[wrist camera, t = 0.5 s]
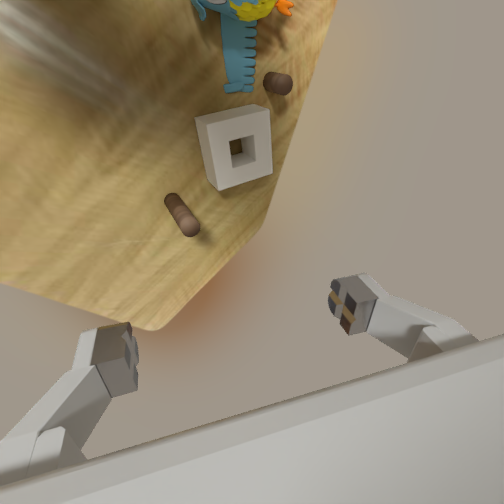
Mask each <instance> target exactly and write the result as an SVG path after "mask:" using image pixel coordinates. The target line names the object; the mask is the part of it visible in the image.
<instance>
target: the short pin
mask: <svg viewBox="0 0 504 504" xmlns="http://www.w3.org/2000/svg"><path fill="white" fill-rule="evenodd" d="M263 86H264V88H265V90H267V91H269V92H273V93H276V94H280V95H287V94H288V93H289V92H290V91H291V89H292V86H293V81H292V78H291V77H290V76H289V75H287V74H281V73H275V72H269V73H267V74H266V75H265V77H264V80H263Z"/></svg>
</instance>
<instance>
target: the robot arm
mask: <svg viewBox="0 0 504 504" xmlns="http://www.w3.org/2000/svg"><path fill="white" fill-rule="evenodd" d="M330 287H331V289H332V290H333V291H332V292H331V293H330V294H329V297H328V304H329V308H330V310H331V312H332V313H333V315H334V316H335V317H337V318H339V319H340V325H341V326H342V328H343V329H344V330H345V332H346V333H347V334H348V335H353V334H357V333H361V332H366V331H367V333H368V334H370V335H371V336H373V337H375V338H376V339H378V340H379V341H381V342H383V343H384V344H386V345H387V346H389V347H391V348H392V349H394V350H395V351H397V352H399V353H400V354H402V355H404V356H405V357H407V358H408V361H407V363H406V364H403V365H399V366H396V367H393V368H390V369H386V370H383V371H380V372H376V373H373V374H370V375H366V376H363V377H360V378H357V379H353V380H350V381H347V382H343V383H340V384H337V385H333V386H330V387H327V388H324V389H321V390H317V391H314V392H311V393H307V394H304V395H301V396H297V397H294V398H291V399H287V400H284V401H281V402H277V403H274V404H271V405H268V406H264V407H261V408H258V409H255V410H251V411H248V412H244V413H241V414H238V415H234V416H231V417H228V418H225V419H221V420H218V421H215V422H212V423H208V424H205V425H201V426H198V427H195V428H192V429H189V430H185V431H182V432H179V433H175V434H172V435H169V436H165V437H162V438H159V439H155V440H152V441H149V442H145V443H142V444H139V445H135V446H132V447H129V448H126V449H122V450H119V451H116V452H112V453H109V454H106V455H103V456H99V457H96V458H92V459H89V460H87V459H86V457H85V456H84V454H83V453H82V452H81V448H82V447H83V445H84V444H85V442H86V441H87V439H88V437H89V436H90V434H91V432H92V431H93V429H94V427H95V426H96V424H97V423H98V421H99V419H100V418H101V416H102V414H103V413H104V411H105V410H106V407H107V406H108V405H109V403H110V401H111V398H113V397H116V396H120V395H123V394H127V393H130V392H134V391H137V389H138V372H137V369H136V366H137V364H138V362H139V355H138V346H137V342H136V338H135V337H134V336H132V327H131V324H130V322H125V323H119V324H114V325H109V326H103V327H99V328H94V329H88V330H83V332H82V333H81V334H80V338H79V342H78V346H77V349H76V353H75V357H74V361H73V365H72V369H71V371H67V372H66V373H65V374H64V375H63V376H62V377H61V378H60V379H59V380H58V381H57V382H56V383H55V384H54V385H53V386H52V387H51V388H50V390H49V391H48V392H47V393H46V394H45V395H44V396H43V397H42V398H41V399H40V400H39V401H38V402H37V403H36V404H35V405H34V407H32V409H31V410H30V411H29V412H28V413H27V414H26V415H25V416H24V417H23V418H22V419H21V420H20V421H19V422H18V423H17V424H16V425H15V427H14V428H13V429H12V430H11V431H10V432H9V433H8V434H7V435H6V436H5V437H4V438H3V439H2V440H1V441H0V504H504V334H502V335H498V336H495V337H492V338H489V339H485V340H482V341H479V340H478V339H476V338H475V337H474V336H472V334H470V333H469V332H468V331H467V330H466V329H465V328H463V327H462V326H461V325H460V324H459V323H457V322H456V321H455V320H454V319H452V318H450V317H447V316H445V315H442V314H440V313H437V312H435V311H432V310H429V309H427V308H424V307H422V306H419V305H417V304H414V303H412V302H409V301H407V300H404V299H402V298H399V297H397V296H394V295H393V296H390V295H389V294H388V293H387V292H386V291H385V290H384V289H383V288H382V287H381V286H380V285H379V284H378V283H376V281H375V280H374V279H372V277H370V276H369V275H368V274H367V273H361V274H356V275H352V276H348V277H343V278H338V279H334V280H333V281H332V282H331V286H330Z"/></svg>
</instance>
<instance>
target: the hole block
mask: <svg viewBox="0 0 504 504" xmlns="http://www.w3.org/2000/svg"><path fill="white" fill-rule="evenodd" d="M194 118H195V123H196V128H197V133H198V138H199V142H200V147H201V152H202V157H203V162H204V166H205V171H206V176H207V180H208V181H209V182H210V183H211V184H212V185H213V186H214V187H215V188H216V189H217V190H218V191H220V190H223V189H226V188H229V187H233V186H236V185H239V184H242V183H245V182H248V181H251V180H254V179H257V178H260V177H263V176H266V175H269V174H272V173H273V167H272V148H271V128H270V109H267V108H264V107H262V106H259V105H256V104H250V105H246V106H241V107H237V108H233V109H229V110H224V111H220V112H216V113H211V114H207V115H203V116H199V117H194ZM239 138H241V145H242V153H238V154H235V155H231V153H230V146H229V141H232V140H235V139H239Z"/></svg>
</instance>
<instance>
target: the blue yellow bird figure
mask: <svg viewBox="0 0 504 504" xmlns="http://www.w3.org/2000/svg"><path fill="white" fill-rule="evenodd" d="M191 2H192V5H194V7H195V8H196V10H197V11H198V13H199V17H200V20H202V21H204V20H205V18H206V11H205V9H204V7H205V8H208V9H211V10H214V11H217V12H220V13H221V36H222V44H223V54H224V60H225V68H226V74H227V78H228V81H229V83H230V84H224V85H223V86H224V90H225V93H232V92H237V91H241V92H252V91H253V86H251V85H245V84H252V83H254V81H255V79H254V78H253V77H249V76H247V75H254V73H255V69H254V68H247V67H249V66H254V65H255V64H256V61H255V60H254V59H251V58H244V57H254V56H255V55H256V51H255V50H254V49H247V48H245V47H255V46H256V40H255V39H250V38H244V37H254V36H256V35H257V31H256V29H254V28H246V27H254V26H256V25H257V20H258V19H260V18H263V17H266V16H268V14H269V13H270V12H271V10H272V9H273V7H277V10H278V11H279V12H280V13H282V14H284V15H286V16H292V14H291V12H290V11H289V8H292V7H293V6H294V4H293V3H292V2H289V1H287V0H278V1H277V3H276V0H191Z"/></svg>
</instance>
